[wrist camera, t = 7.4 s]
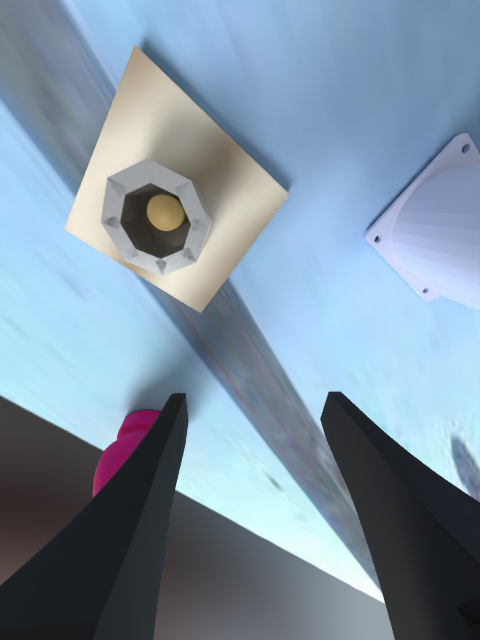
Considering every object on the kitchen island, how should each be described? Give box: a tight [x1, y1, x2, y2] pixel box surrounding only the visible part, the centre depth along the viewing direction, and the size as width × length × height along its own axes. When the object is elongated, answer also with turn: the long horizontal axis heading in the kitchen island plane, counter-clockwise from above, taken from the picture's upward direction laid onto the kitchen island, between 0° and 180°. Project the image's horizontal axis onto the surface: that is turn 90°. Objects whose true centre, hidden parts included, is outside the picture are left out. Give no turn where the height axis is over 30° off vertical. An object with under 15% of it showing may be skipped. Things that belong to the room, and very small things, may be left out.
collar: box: [101, 158, 213, 276], centre depth 13 cm, size 5×5×4 cm
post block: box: [64, 45, 289, 313], centre depth 14 cm, size 11×11×4 cm
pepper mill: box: [93, 410, 160, 497], centre depth 17 cm, size 7×7×20 cm
